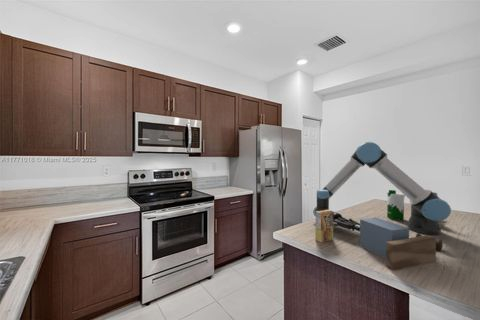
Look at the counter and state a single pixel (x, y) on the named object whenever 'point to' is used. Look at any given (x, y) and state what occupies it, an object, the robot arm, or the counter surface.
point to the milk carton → (395, 205)
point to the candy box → (324, 225)
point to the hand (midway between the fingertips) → (366, 231)
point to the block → (380, 234)
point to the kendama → (438, 242)
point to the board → (410, 252)
